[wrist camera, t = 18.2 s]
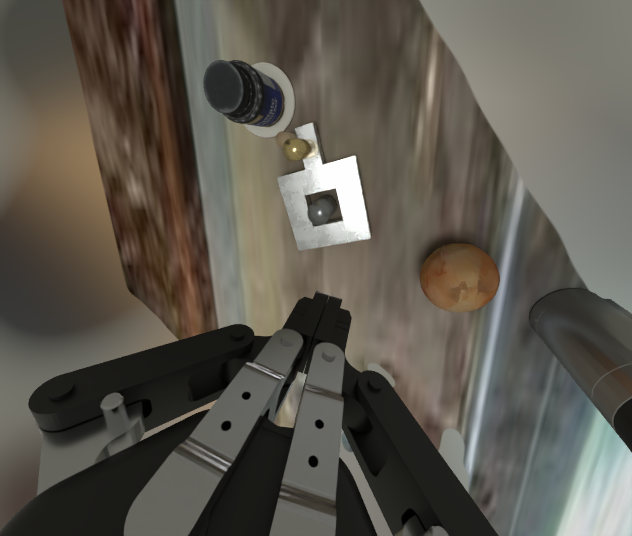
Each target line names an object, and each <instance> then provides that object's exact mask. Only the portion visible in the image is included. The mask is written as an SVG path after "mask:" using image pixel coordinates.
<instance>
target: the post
mask: <svg viewBox="0 0 632 536" xmlns="http://www.w3.org/2000/svg"><path fill="white" fill-rule="evenodd" d="M336 208H337V202H336V200H335V199H334V198H333V197H332V196H330V195H324V196H322V197H320V198H319V199H318V200H317V201H315V202H314V203H313V204H312V205H310V207H309V208H308V211H307V215H308V218H309V220H310V221H311V222H312V223H313V224H315V225H323V224H325V223H326V222H327V221H328V220H329V218H330V217H331V216H332V215H333V213H334V212H335V211H336Z"/></svg>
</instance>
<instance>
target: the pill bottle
mask: <svg viewBox="0 0 632 536" xmlns="http://www.w3.org/2000/svg"><path fill="white" fill-rule="evenodd" d="M204 92H205V95H206V98H207V100H208V102H209V103H210V104H211V106H212V107H213V108H214V109H215V110H217V111H218V112H221V113H223V114H224V115H225V116H226V117H227V118H228V119H230V120H231V121H233V122H236V123H241V124H247V125H254V126H260V127H271V126H273V125H275V124H276V123H277V122H278V121H279V120H280V119H281V117H282V115H283V112H284V101H285V99H284V94H283V91H282V89H281V87H280V86H279V85H278V83H277V82H276V81H275V80H274V79H272V78H270V77H268V76H267V75H265V74H264V73H262V72H260V71H259V70H257V69H255V68H254V67H252V66H250V65H249V64H247V63H245V62H242V61H239V60H233V61H229V62H227V61H224V60H218V61H215V62H213V63H212V64H211V65H210V66H209V67H208V68H207V70H206V72H205V75H204Z"/></svg>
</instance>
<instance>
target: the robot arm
mask: <svg viewBox="0 0 632 536" xmlns="http://www.w3.org/2000/svg"><path fill="white" fill-rule="evenodd" d="M328 297H329V295H327V294H324V293H321V292H318V291H316V293H315V295H314V297H313V299H310V298H307V297H303V298H302V299H300V300H298V302H297V304H296V305H295V307H294V309H293V311H292V312H291V314H290V316H289V318H288V319H287V321H286V323H285V325H284V326H283V328H282V329H281V330H278V331H276V332H275V333H274V334H273V336H254V332H253V330H252V329H251V328H250V327H248V326H246V325H242V324H234V325H230V326H227V327H223V328H220V329H217V330H213V331H210V332H206V333H203V334H199V335H196V336H193V337H189V338H186V339H182V340H179V341H175V342H172V343H169V344H165V345H162V346H158V347H155V348H152V349H148V350H145V351H141V352H138V353H134V354H131V355H128V356H124V357H121V358H117V359H114V360H110V361H107V362H103V363H100V364H97V365H93V366H90V367H86V368H83V369H79V370H76V371H73V372H70V373H66V374H63V375H59V376H57V377H54V378H52V379H50V380H48V381H47V382H45V383H44V384H42V385H41V386H40V387H38V388H37V389H36V390H35V391H34V393H33V394H32V395H31V397H30V399H29V403H28V405H29V408H30V410H31V412H32V414H33V416H34V418H35V420H36V426H37V428H38V430H39V432H40V433H41V435H42V447H41V458H40V469H39V480H38V491H37V497H35V498H34V499H33V500H31V501H30V502H29V503H28V504H26V505H25V506H24V507H23V508H22V509H21V510H20V511H19V512H17V513H16V514H15V515H14V517H13V518H12V519H11V520H10V521H9V522H8V523H7V524H6V525H5V526H4V527H3V528H2V530H1V531H0V536H377V533H376V531H375V529H374V526H373V524H372V521H371V519H370V517H369V514H368V512H367V509H366V507H365V504H364V502H363V499H362V497H361V494H360V492H359V490H358V487H357V485H356V482H355V480H354V478H353V476H352V474H351V472H350V470H349V469H348V467H347V466H346V464H345V463H344V462H343V461H342V459H341V458H340V457H339V452H340V440H341V428H342V429H343V431H344V433H345V436H346V438H347V440H348V442H349V444H350V446H351V448H352V450H353V452H354V455H355V456H356V459H357V461H358V463H359V465H360V467H361V469H362V471H363V473H364V475H365V478H366V480H367V482H368V484H369V486H370V488H371V490H372V492H373V495H374V497H375V499H376V501H377V503H378V505H379V507H380V509H381V511H382V513H383V516H384V518H385V520H386V522H387V524H388V526H389V528H390V530H391V532H392V535H393V536H498V534H497V533H496V532H495V530H494V529H493V527H492V526H491V525H490V523H489V522H488V520H487V519H486V518H485V516H484V515H483V513H482V512H481V511H480V509H479V508H478V506H477V505H476V504H475V502H474V501H473V499H472V498H471V497H470V495H469V494H468V492H467V491H466V490H465V488H464V487H463V485H462V484H461V483H460V481H459V480H458V478H457V477H456V476H455V475H454V473H453V471H452V470H451V469H450V467H449V466H448V465H447V463H446V462H445V460H444V459H443V458H442V456H441V455H440V453H439V452H438V450H437V449H436V448H435V446H434V445H433V443H432V442H431V441H430V439H429V438H428V436H427V435H426V434H425V432H424V431H423V429H422V428H421V427H420V425H419V424H418V422H417V421H416V420H415V418H414V417H413V415H412V414H411V413H410V411H409V410H408V408H407V407H406V406H405V404H404V403H403V401H402V400H401V399H400V397H399V396H398V394H397V393H396V392H395V390H394V389H393V387H392V386H391V385H390V383H389V382H388V381H387V380H386V378H385V377H383V376H382V375H381V374H379V373H377V372H375V371H364V372H362V373H361V372H359V371H358V370H356V369H355V368H353V367H352V366H351V365H350V364H349V363H348V361H347V360H346V357H345V348H346V343H347V338H348V333H349V328H350V324H351V319H352V318H351V315H350V312H349V311H347V310H344V309H341V308H340V306H341V303H342V299H340V298H337V297H333V296H330V297H329V299H328ZM327 301H328V302H327ZM530 323H531V325H532V327H533V329H534V330H535V331H536V332H537V334H538V335H539V336H540V337H541V339H542V340H543V341H544V342H545V344H546V345H547V346H548V348H549V349H550V350H551V351H552V353H553V354H554V355H555V356H556V358H557V359H558V360H559V361H560V363H561V364H562V365H563V366H564V368H565V369H566V370H567V371H568V373H569V374H570V375H571V376H572V378H573V379H574V380H575V381H576V383H577V384H578V385H579V386H580V388H581V389H582V390H583V392H584V393H585V394H586V395H587V397H588V398H589V399H590V400H591V402H592V403H593V404H594V405H595V407H596V408H597V409H598V410H599V411H600V413H601V414H602V415H603V416H604V418H605V419H606V420H607V422H608V423H609V424H610V425H611V427H612V428H613V429H614V430H615V432H616V433H617V434H618V435H619V437H620V438H621V439H622V440H623V442H624V443H625V444H626V445H627V447H628V448H629V449H630V451H631V452H632V314H631V313H630V312H628V311H627V310H625V309H624V308H622V307H621V306H619V305H618V304H617V303H615V302H614V301H612V300H610V299H603V298H601V297H599V296H598V295H596V294H595V293H593V292H590V291H588V290H583V289H565V290H560V291H556V292H554V293H551V294H549V295H547V296H545V297H544V298H542V299H541V300H540V301H539V302H537V303H536V305H535V306H534V307H533V309H532V311H531V313H530ZM307 360H308V361H307ZM306 362H307V364H306ZM305 365H306V368H305ZM304 368H305V371H304V374H307V376H306V380H305V383H304V387H303V390H302V394H301V398H300V402H299V406H298V410H297V414H296V418H295V422H294V426H293V428H288V427H280V426H277V425H275V424H274V421H275V419H276V417H277V415H278V413H279V411H280V409H281V407H282V405H283V403H284V401H285V399H286V397H287V395H288V393H289V391H290V389H291V387H292V384H293V381H294V380H295V378H296V375H297V373H298V371H299V372H302V373H303V370H304ZM217 399H218V400H217ZM215 400H217V401H216V402H215V404H214V405H213V406H212V408H211V409H208V410H204V411H201V412H198V413H196V414H194V415H192V416H190V417H188V418H186V419H184V420H182V421H180V422H178V423H176V424H174V425H172V426H170V427H168V428H166V429H164V430H162V431H160V432H158V433H156V434H154V435H152V436H150V437H148V438H146V439H144V440H142V441H140V440H141V438H142V437H143V435H144V433H145V432H147V431H149V430H151V429H153V428H155V427H158V426H160V425H162V424H164V423H166V422H169V421H171V420H173V419H175V418H177V417H180V416H181V415H184V414H186V413H188V412H190V411H193V410H195V409H197V408H199V407H201V406H204V405H206V404H208V403H210V402H212V401H215ZM139 441H140V442H139Z"/></svg>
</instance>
